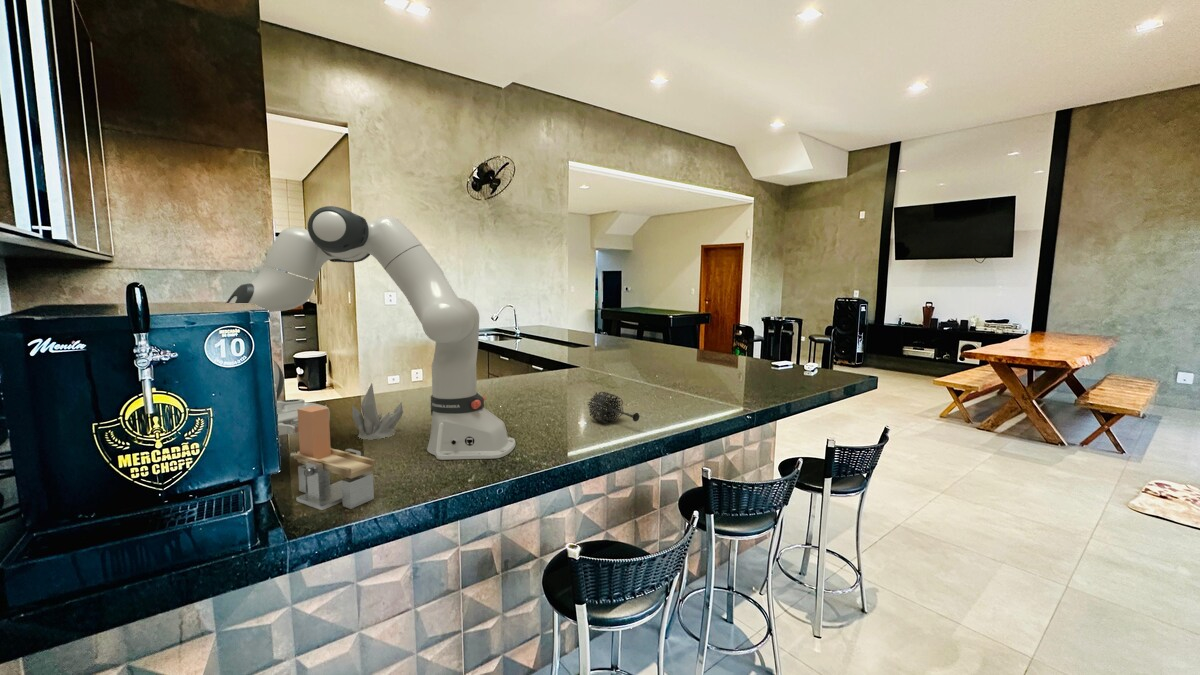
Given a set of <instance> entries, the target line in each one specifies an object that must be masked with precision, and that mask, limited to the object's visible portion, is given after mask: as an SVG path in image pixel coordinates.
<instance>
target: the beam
mask: <svg viewBox="0 0 1200 675" xmlns="http://www.w3.org/2000/svg"><path fill="white" fill-rule="evenodd" d="M293 458H294V460H297V463H300V464H302V465H306V462H308V461H315V462H318V463H321V464H323V470H325V471H328V472H330V473H331V474H335V475H339V476H341V477H345V478H346V477H348V478H354V477H357V476H359V475H362V474H365V473H367V472H369V473H371V472H373V471H374V466H375V465H377V460H376V459H374V458H370V457H367V456H359V455H355V454H352V453H350V452H345V450H344V451H343V450H340V449H337V448H336V449H335V448H333V447H331V455H330V456H327V457H324V458H321V459H315V458H312V457H308V456H305V455H302V454H300V453H294V454H293Z"/></svg>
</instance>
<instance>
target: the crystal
mask: <svg viewBox="0 0 1200 675" xmlns="http://www.w3.org/2000/svg"><path fill="white" fill-rule="evenodd" d="M360 409H361V411H360V410H358V409H357V408H356V407H355V406H353V405H352V406H351V410H352V411H351V418H352V420H353V422H354V424H355V427H356V428H357V429H358V432H359V433H358V435H357V438H358V437H359V438H358V439H360V438H361V439H360V440H362V439H368V440H367V441H374V440H373V439H377V440H382V439H381V438H384V439H386V438H385V437H388V436H391V435H393V434H394V435H395V434H396V433H397V431H396V430H395V428H396V426H397V425H398V422H400V419H401V417H402V415H403V414H404V410H403V409H404V408H403V404H402V402H400V403H399V404H398V405H397V406H396V408H395V409H394V411H393V413H390V412H388V413H387V414H386V415H385V416H383V417H382V413H381V412H380V414H379V413H378V411H377V405H376V400H375V394H374V386H373V383H370V386H369V387H368V389H367V392H366V394H365V395H364V397H363V400H362V402H361V404H360ZM395 432H396V433H395ZM394 435H393V436H394ZM391 437H392V436H391ZM388 438H389V437H388Z"/></svg>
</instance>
